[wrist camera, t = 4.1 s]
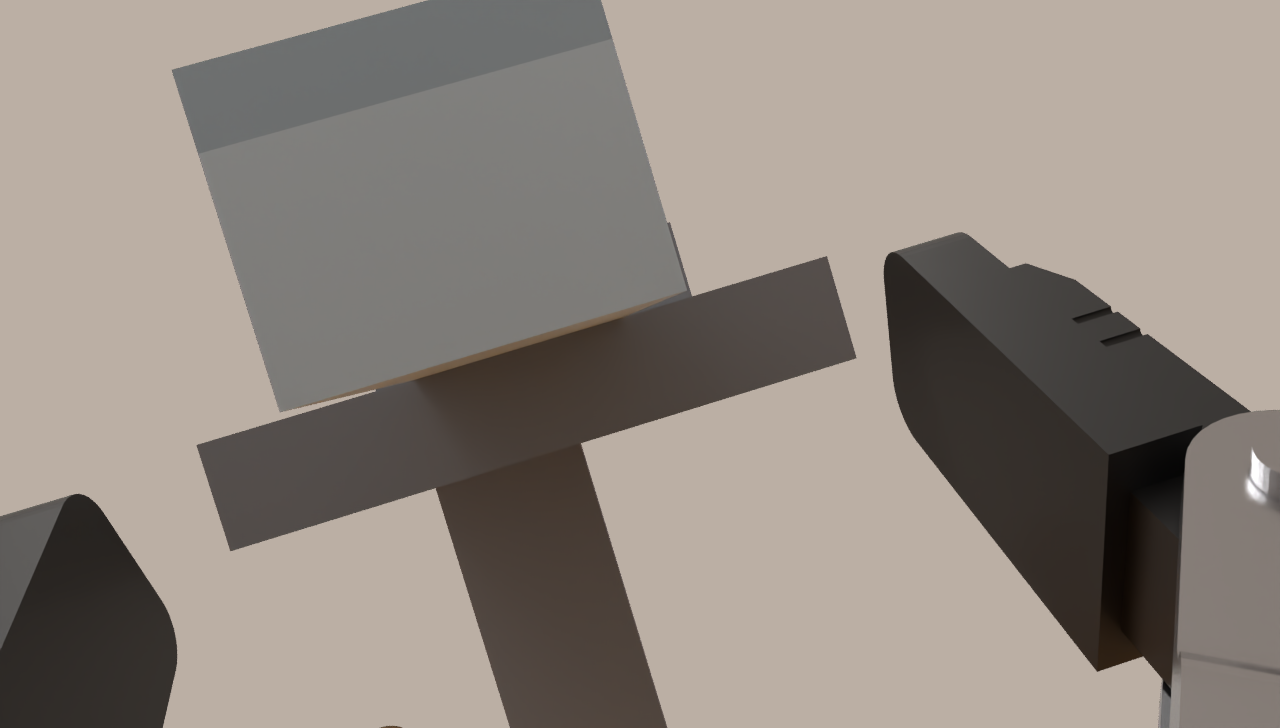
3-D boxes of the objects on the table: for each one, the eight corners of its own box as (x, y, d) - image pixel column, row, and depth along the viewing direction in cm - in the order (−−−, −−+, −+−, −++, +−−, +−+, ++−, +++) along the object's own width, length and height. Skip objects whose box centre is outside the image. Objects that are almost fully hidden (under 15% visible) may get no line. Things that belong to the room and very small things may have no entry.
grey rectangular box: (686, 290, 10) (587, -44, 10) (280, 413, 10) (171, 70, 9) (593, 329, 34) (564, 234, 34) (476, 364, 33) (447, 268, 33)
